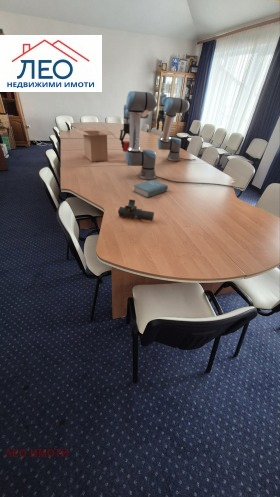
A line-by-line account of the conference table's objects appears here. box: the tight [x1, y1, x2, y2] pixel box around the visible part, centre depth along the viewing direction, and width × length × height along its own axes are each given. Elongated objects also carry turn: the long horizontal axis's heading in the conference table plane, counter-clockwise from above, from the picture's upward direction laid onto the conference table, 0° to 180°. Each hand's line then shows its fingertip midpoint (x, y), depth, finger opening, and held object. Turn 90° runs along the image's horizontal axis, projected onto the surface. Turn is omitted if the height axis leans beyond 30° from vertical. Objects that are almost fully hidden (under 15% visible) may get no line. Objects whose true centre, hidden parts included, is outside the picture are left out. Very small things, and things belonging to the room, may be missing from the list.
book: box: [133, 179, 169, 198], centre depth 177 cm, size 23×16×5 cm
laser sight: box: [117, 199, 155, 222], centre depth 138 cm, size 10×22×10 cm, turn 78°
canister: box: [122, 140, 129, 153], centre depth 232 cm, size 8×8×9 cm
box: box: [74, 128, 115, 162], centre depth 240 cm, size 44×36×27 cm
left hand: (126, 147), depth 233 cm, fingers closed on canister, 8 cm apart
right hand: (160, 130), depth 270 cm, fingers open, 13 cm apart
